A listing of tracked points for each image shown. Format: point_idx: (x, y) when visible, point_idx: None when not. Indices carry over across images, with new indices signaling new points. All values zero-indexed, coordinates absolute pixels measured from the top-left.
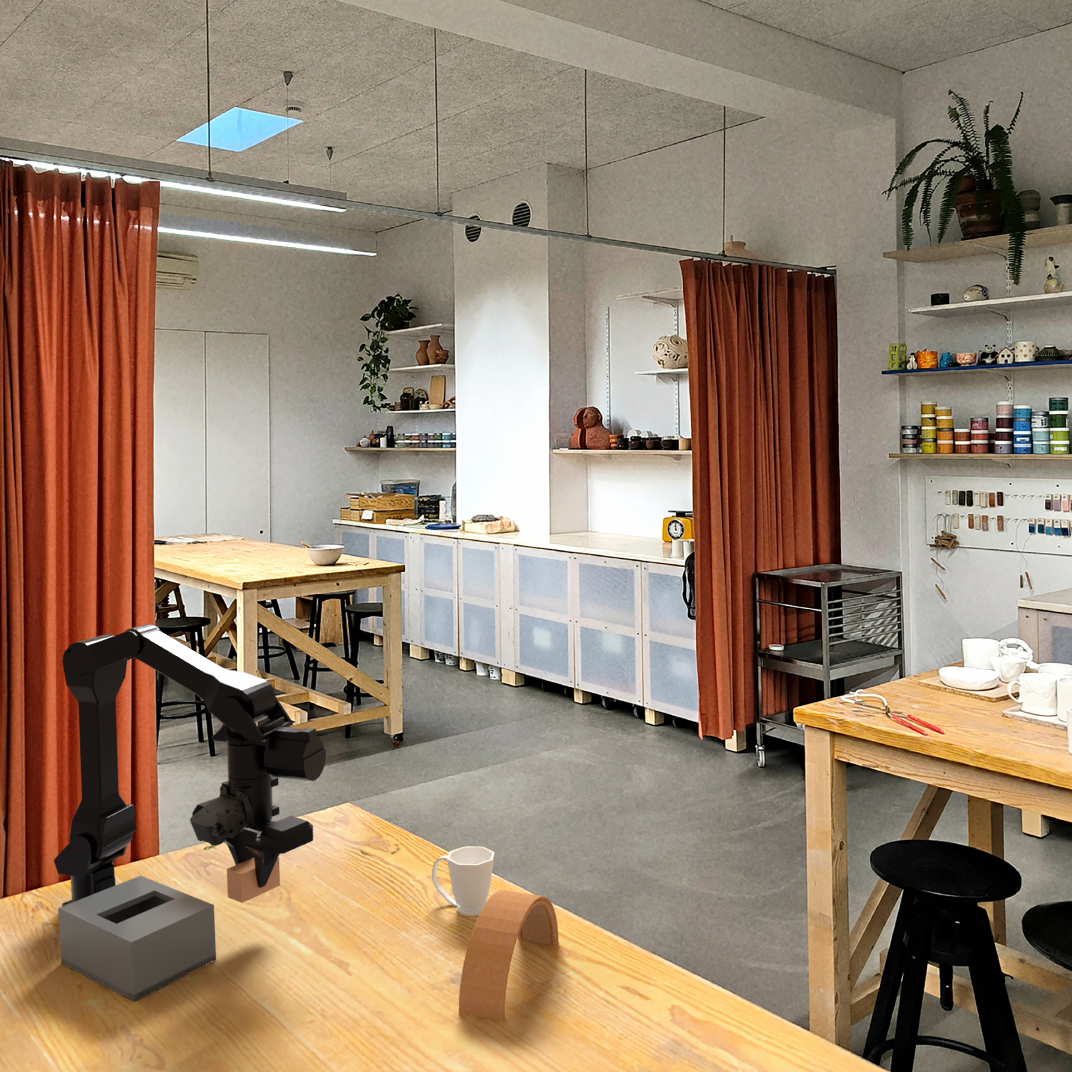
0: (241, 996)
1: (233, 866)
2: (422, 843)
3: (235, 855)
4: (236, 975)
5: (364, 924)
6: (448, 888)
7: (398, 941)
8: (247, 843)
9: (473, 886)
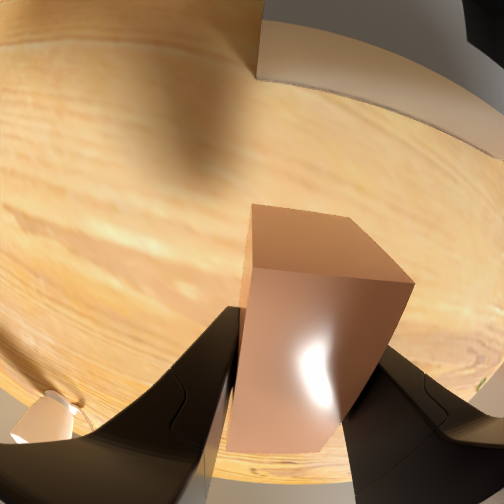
0: (90, 25)
1: (391, 328)
2: (238, 480)
3: (417, 394)
4: (153, 59)
5: (107, 348)
6: None
7: (35, 319)
8: (382, 476)
9: (26, 414)
